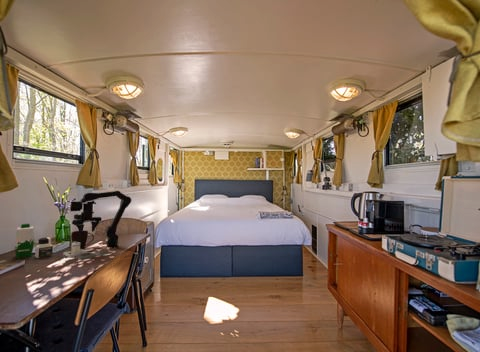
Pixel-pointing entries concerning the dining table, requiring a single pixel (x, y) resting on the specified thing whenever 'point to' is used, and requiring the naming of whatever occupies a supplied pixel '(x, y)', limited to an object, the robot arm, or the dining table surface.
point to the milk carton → (24, 241)
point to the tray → (73, 254)
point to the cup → (80, 238)
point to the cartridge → (75, 248)
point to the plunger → (104, 248)
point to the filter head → (92, 254)
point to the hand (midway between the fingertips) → (87, 232)
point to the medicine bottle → (44, 248)
